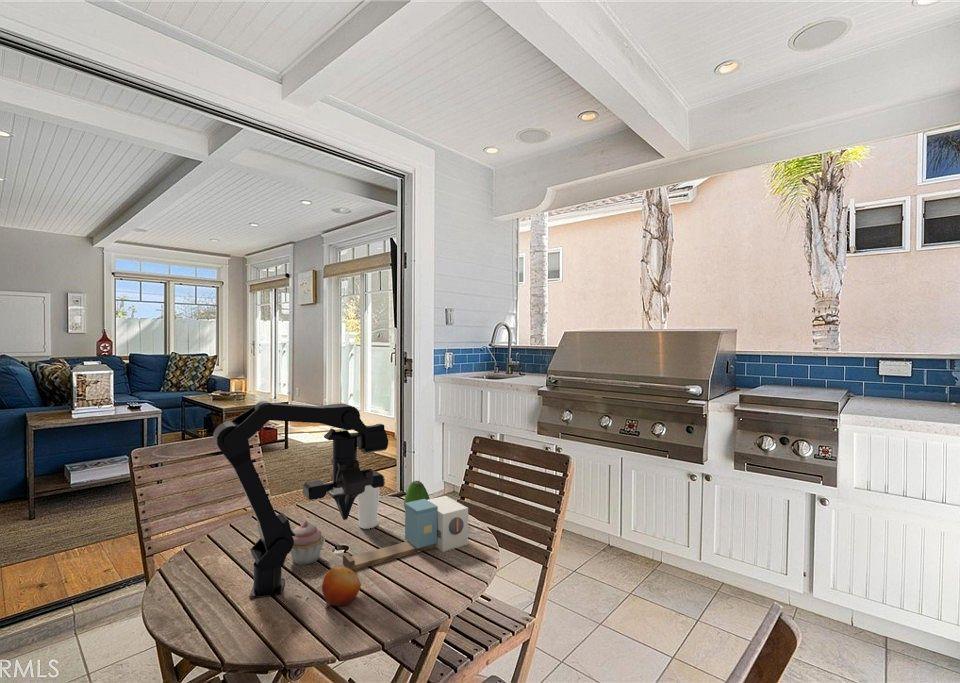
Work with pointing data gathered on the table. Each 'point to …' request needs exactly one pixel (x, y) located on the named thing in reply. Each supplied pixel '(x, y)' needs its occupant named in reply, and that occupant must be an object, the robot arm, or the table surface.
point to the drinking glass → (368, 507)
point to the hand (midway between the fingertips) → (344, 519)
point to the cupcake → (306, 543)
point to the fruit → (340, 586)
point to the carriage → (421, 523)
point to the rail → (381, 555)
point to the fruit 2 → (416, 492)
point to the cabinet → (451, 523)
